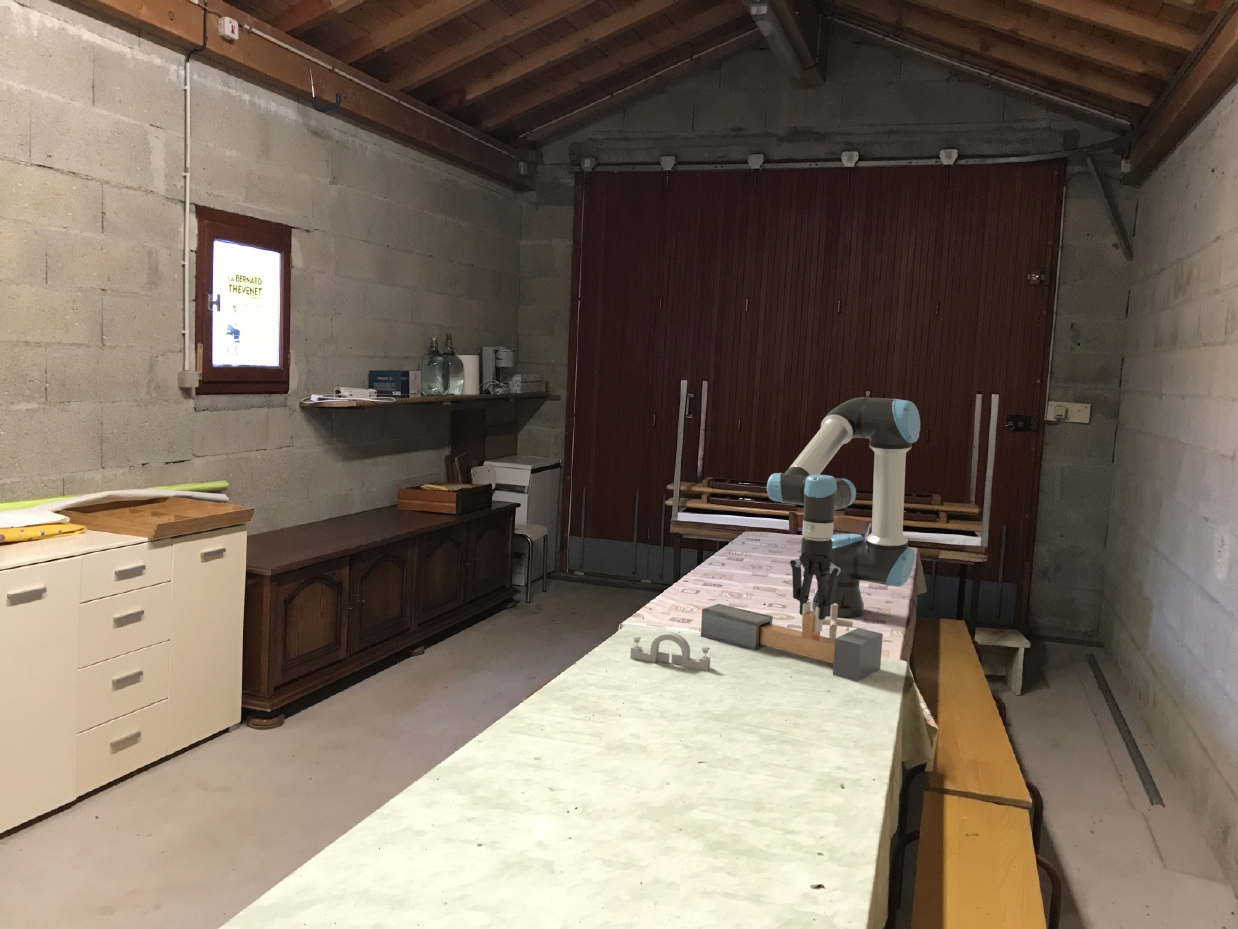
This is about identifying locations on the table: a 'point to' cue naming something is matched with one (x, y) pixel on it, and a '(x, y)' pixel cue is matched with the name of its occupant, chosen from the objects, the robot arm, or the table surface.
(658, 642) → the gateway
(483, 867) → the table surface
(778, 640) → the orange-brown sliding bolt
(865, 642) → the socket block
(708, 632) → the sleeve
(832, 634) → the cream cross joint
